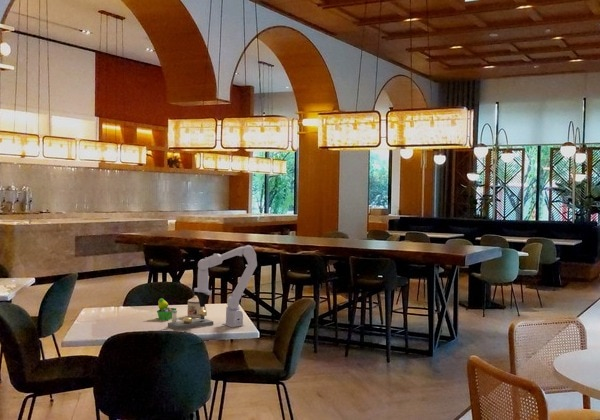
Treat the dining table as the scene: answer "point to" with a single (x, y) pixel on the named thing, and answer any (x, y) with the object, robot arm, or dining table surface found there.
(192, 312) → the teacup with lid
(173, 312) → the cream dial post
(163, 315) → the fruit basket
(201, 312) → the brass knob
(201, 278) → the robot arm
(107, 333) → the dining table surface
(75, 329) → the dining table surface
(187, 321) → the brass knob
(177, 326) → the slate panel
